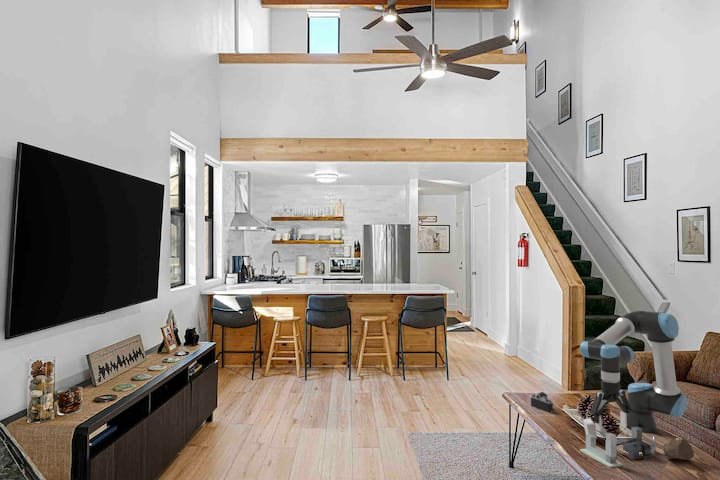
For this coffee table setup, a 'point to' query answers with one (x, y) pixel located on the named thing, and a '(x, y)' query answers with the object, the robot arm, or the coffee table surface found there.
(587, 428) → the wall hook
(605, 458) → the white slotted block
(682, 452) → the rock
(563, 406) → the coffee table surface
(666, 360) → the robot arm
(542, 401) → the camera
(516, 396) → the coffee table surface
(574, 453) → the coffee table surface
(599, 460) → the pad
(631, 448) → the vise
